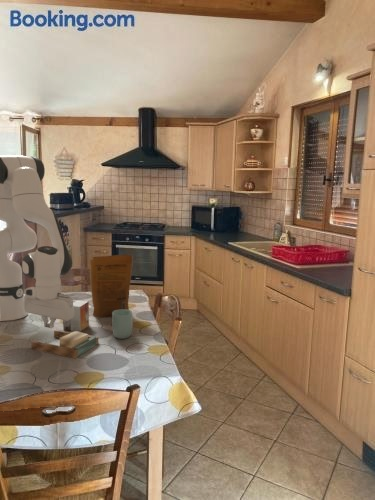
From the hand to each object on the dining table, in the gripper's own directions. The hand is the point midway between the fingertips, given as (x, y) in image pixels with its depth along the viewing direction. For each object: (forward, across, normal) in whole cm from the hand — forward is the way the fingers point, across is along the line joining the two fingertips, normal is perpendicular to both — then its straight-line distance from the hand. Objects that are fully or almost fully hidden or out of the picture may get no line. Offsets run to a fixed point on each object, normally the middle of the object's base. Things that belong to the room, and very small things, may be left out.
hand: (49, 327), depth 145 cm
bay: (+6, -8, 0) cm, 10 cm away
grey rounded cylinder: (+6, -1, -9) cm, 11 cm away
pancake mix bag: (+6, -5, -36) cm, 36 cm away
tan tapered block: (+6, -12, +1) cm, 13 cm away
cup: (+6, -22, -16) cm, 28 cm away
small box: (+6, -1, -16) cm, 18 cm away
